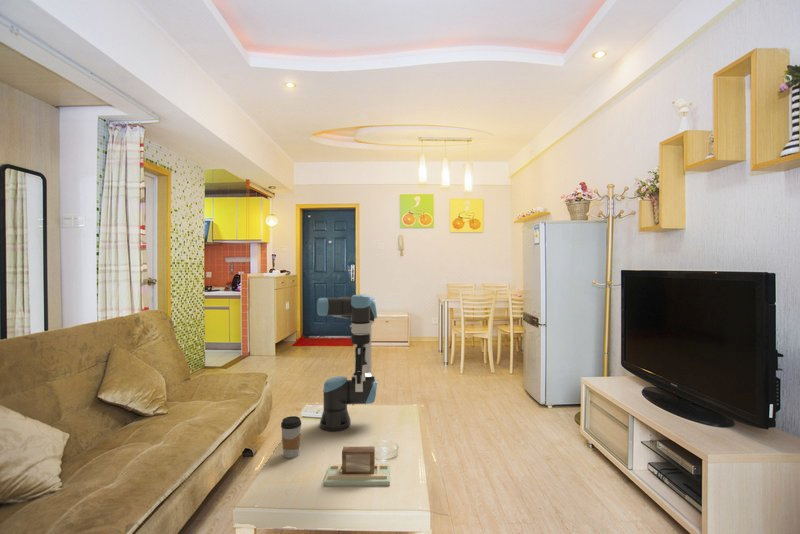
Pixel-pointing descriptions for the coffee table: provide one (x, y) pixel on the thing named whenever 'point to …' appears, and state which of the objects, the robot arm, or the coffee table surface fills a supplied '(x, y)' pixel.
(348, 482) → the mint cabinet door
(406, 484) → the coffee table surface
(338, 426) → the robot arm
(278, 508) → the coffee table surface
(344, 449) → the brown wooden picture frame
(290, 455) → the coffee cup
